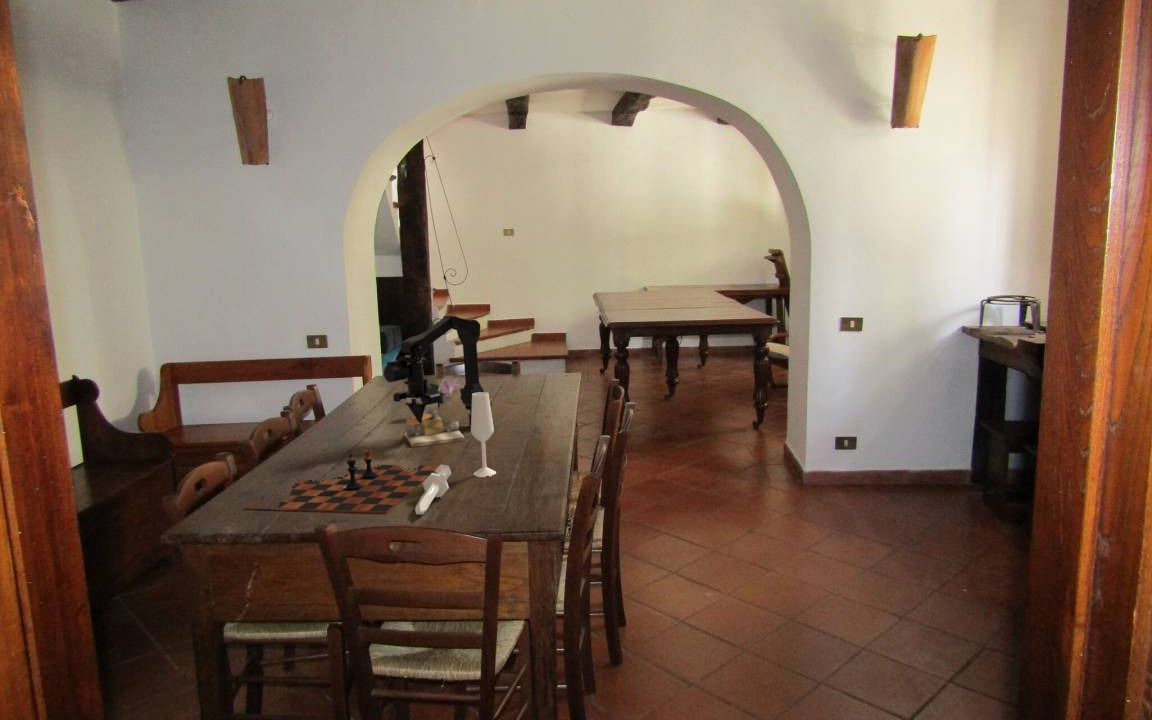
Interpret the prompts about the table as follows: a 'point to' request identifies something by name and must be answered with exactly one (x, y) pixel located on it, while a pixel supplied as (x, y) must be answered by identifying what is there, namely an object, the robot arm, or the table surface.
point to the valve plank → (435, 438)
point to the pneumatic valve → (436, 403)
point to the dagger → (433, 488)
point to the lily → (449, 387)
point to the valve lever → (428, 415)
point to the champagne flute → (482, 427)
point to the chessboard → (358, 489)
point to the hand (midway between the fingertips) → (420, 422)
